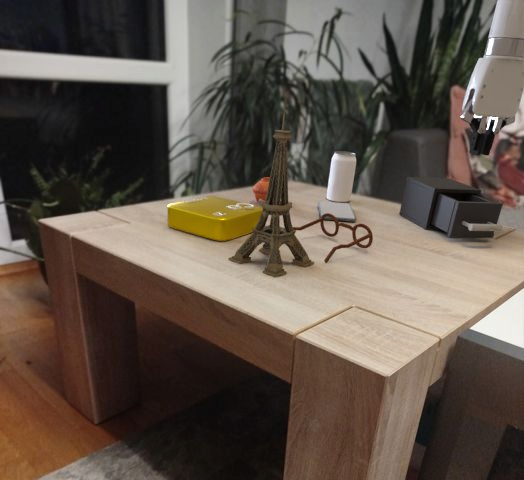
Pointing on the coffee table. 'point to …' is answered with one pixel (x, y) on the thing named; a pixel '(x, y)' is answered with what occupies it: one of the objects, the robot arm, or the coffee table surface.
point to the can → (341, 177)
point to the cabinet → (428, 197)
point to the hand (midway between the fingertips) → (478, 153)
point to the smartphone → (337, 211)
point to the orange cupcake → (261, 189)
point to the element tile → (214, 217)
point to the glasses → (321, 220)
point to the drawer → (466, 215)
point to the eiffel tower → (275, 217)
